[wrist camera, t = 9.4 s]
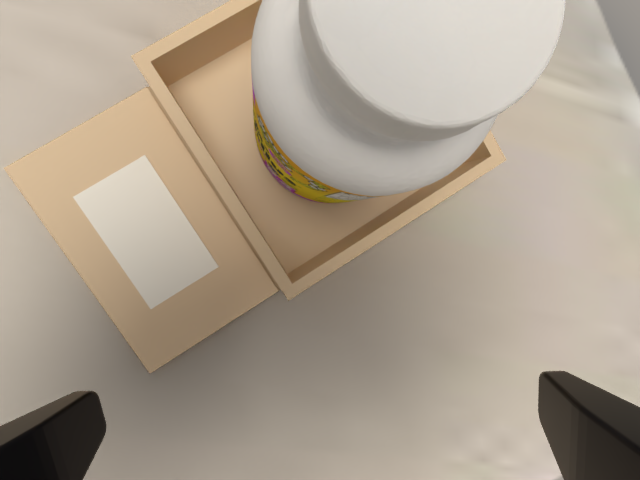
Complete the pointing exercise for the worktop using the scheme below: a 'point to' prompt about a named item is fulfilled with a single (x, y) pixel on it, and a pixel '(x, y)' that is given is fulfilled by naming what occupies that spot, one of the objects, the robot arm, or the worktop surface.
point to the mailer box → (199, 197)
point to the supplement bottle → (388, 87)
